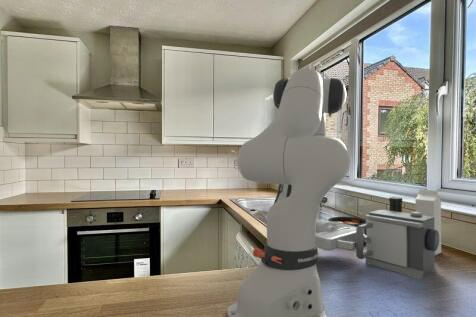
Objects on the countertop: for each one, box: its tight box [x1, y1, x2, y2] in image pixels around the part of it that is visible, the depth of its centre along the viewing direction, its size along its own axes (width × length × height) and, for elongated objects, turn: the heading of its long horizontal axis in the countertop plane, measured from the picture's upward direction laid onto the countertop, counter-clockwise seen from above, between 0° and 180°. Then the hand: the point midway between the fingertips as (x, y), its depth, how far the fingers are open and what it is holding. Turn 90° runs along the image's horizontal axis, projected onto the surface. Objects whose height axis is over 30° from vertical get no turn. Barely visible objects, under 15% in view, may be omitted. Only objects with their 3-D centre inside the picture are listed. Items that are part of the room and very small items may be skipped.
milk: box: [414, 189, 442, 256], centre depth 105 cm, size 6×6×22 cm
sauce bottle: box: [388, 196, 403, 212], centre depth 103 cm, size 7×6×20 cm
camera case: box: [364, 209, 439, 280], centre depth 91 cm, size 10×18×17 cm, turn 37°
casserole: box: [327, 216, 366, 245], centre depth 121 cm, size 25×19×8 cm
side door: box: [355, 219, 407, 267], centre depth 89 cm, size 8×12×12 cm
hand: (362, 243), depth 90 cm, fingers open, 8 cm apart
